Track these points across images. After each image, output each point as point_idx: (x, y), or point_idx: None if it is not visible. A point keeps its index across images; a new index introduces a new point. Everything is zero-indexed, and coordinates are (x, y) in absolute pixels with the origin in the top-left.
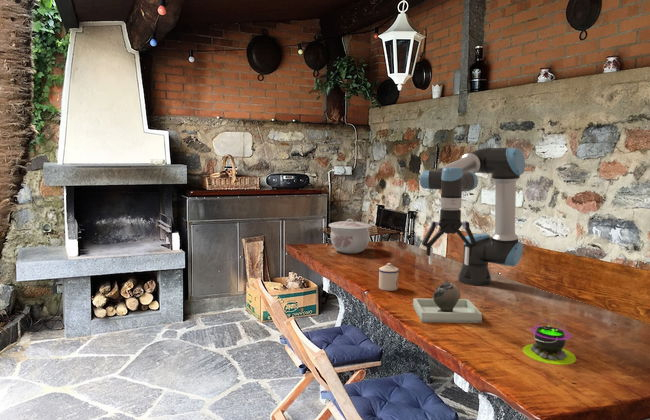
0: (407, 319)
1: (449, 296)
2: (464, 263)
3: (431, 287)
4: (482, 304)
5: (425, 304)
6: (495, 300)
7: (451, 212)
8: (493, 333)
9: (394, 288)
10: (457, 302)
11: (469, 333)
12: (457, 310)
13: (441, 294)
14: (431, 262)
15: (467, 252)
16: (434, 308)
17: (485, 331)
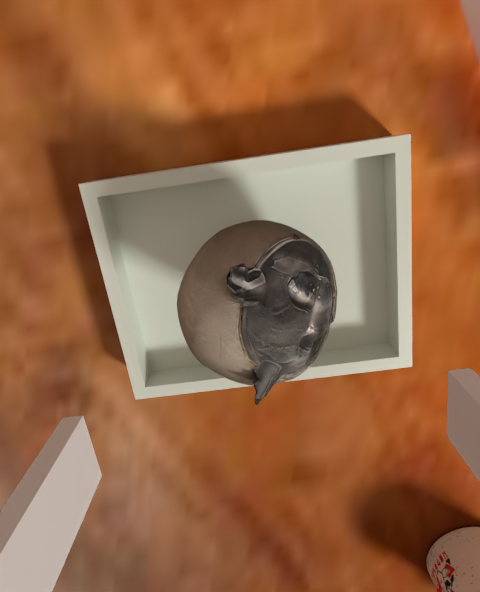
0: (457, 161)
1: (252, 230)
2: (100, 473)
3: (276, 589)
4: None
5: (344, 349)
6: None
7: None
8: (44, 33)
9: (449, 540)
10: (190, 375)
11: (165, 5)
12: None
13: (301, 247)
14: (471, 385)
15: (4, 534)
16: None
17: (83, 56)
